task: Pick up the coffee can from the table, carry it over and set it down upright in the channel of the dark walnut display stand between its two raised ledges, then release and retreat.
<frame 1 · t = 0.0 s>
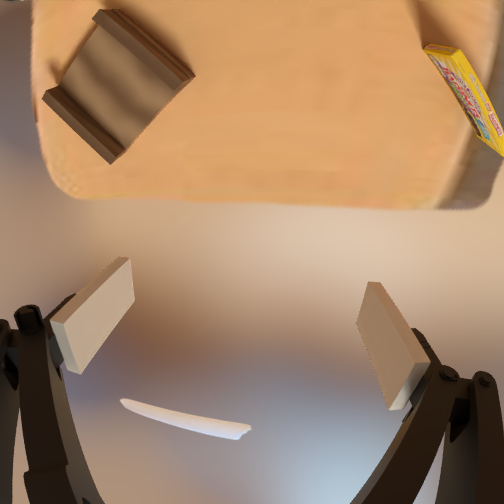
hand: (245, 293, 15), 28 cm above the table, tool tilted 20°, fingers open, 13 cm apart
candy box: (455, 91, 28), on the table
display stand: (119, 81, 32), on the table
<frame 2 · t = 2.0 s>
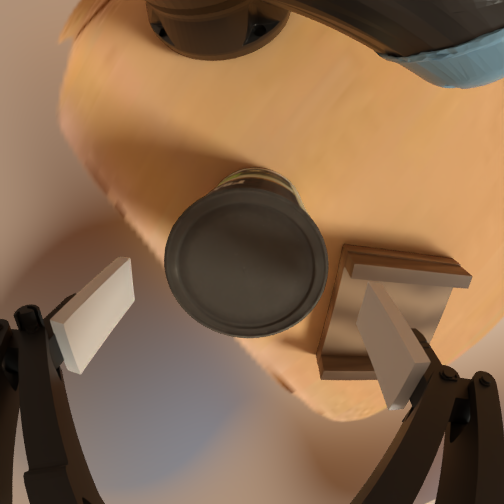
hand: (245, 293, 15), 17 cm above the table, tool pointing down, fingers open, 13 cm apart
display stand: (387, 309, 34), on the table
coffee can: (255, 215, 31), on the table
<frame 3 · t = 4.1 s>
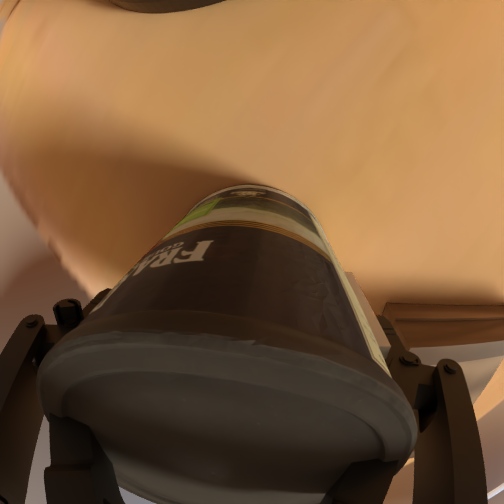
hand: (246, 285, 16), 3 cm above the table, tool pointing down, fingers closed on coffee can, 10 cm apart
display stand: (429, 376, 22), on the table
coffee can: (250, 263, 19), on the table, touching gripper
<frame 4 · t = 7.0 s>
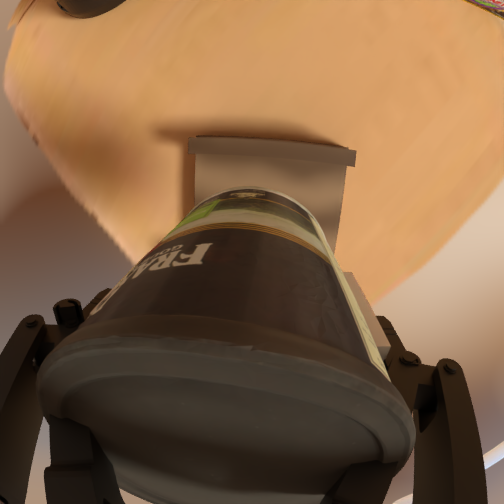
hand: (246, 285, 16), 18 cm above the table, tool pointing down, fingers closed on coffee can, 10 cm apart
candy box: (478, 5, 18), on the table
display stand: (267, 208, 33), on the table
coffee can: (250, 264, 19), point 15 cm above the table, touching gripper
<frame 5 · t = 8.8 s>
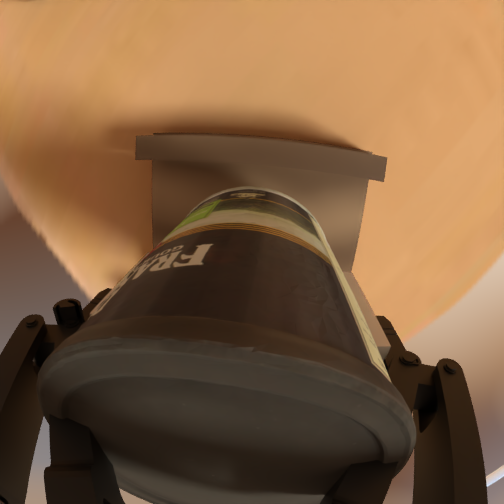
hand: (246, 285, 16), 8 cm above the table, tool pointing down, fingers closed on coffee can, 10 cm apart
display stand: (254, 235, 24), on the table
coffee can: (250, 265, 19), point 5 cm above the table, touching gripper
when the fingers open (6 cm above the table, at t = 10.2 s): coffee can drops 1 cm, resting on display stand.
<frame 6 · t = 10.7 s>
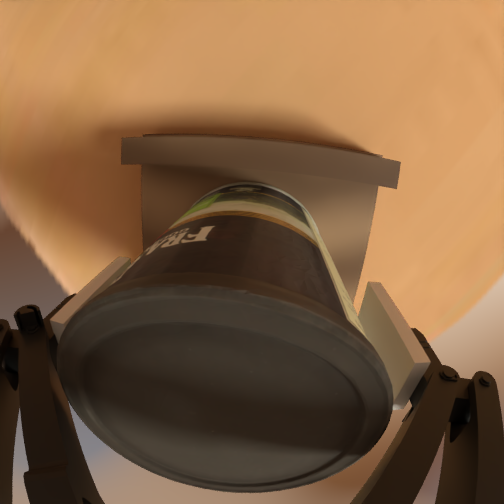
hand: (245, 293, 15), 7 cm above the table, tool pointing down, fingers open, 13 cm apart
display stand: (253, 246, 22), on the table
coffee can: (248, 255, 20), point 2 cm above the table, touching display stand
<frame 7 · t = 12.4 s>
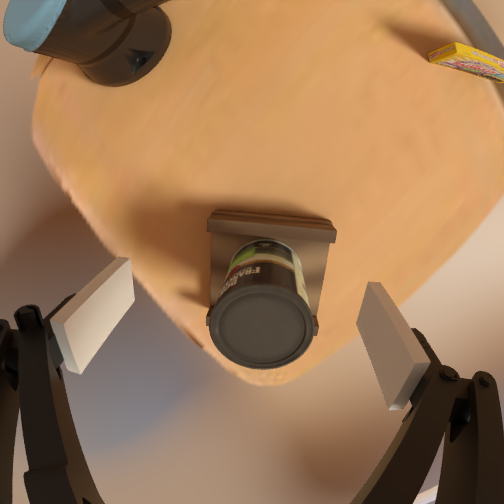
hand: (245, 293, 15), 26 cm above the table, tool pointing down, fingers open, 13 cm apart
candy box: (465, 69, 29), on the table
display stand: (267, 268, 42), on the table
coffee can: (265, 273, 41), point 2 cm above the table, touching display stand
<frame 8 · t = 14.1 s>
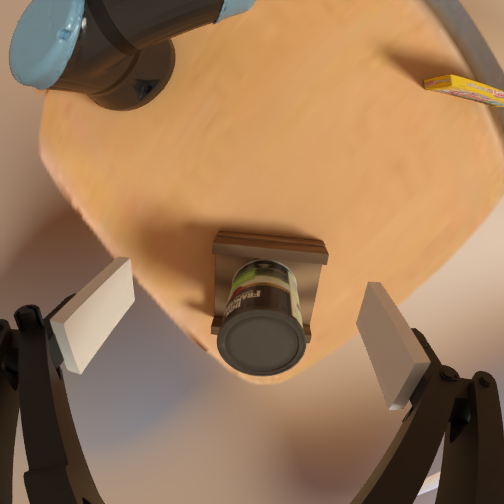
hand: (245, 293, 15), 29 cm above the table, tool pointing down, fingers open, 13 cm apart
candy box: (460, 94, 33), on the table
display stand: (266, 282, 47), on the table
coffee can: (264, 288, 45), point 2 cm above the table, touching display stand
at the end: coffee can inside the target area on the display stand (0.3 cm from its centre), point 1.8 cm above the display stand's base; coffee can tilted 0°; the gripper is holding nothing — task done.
